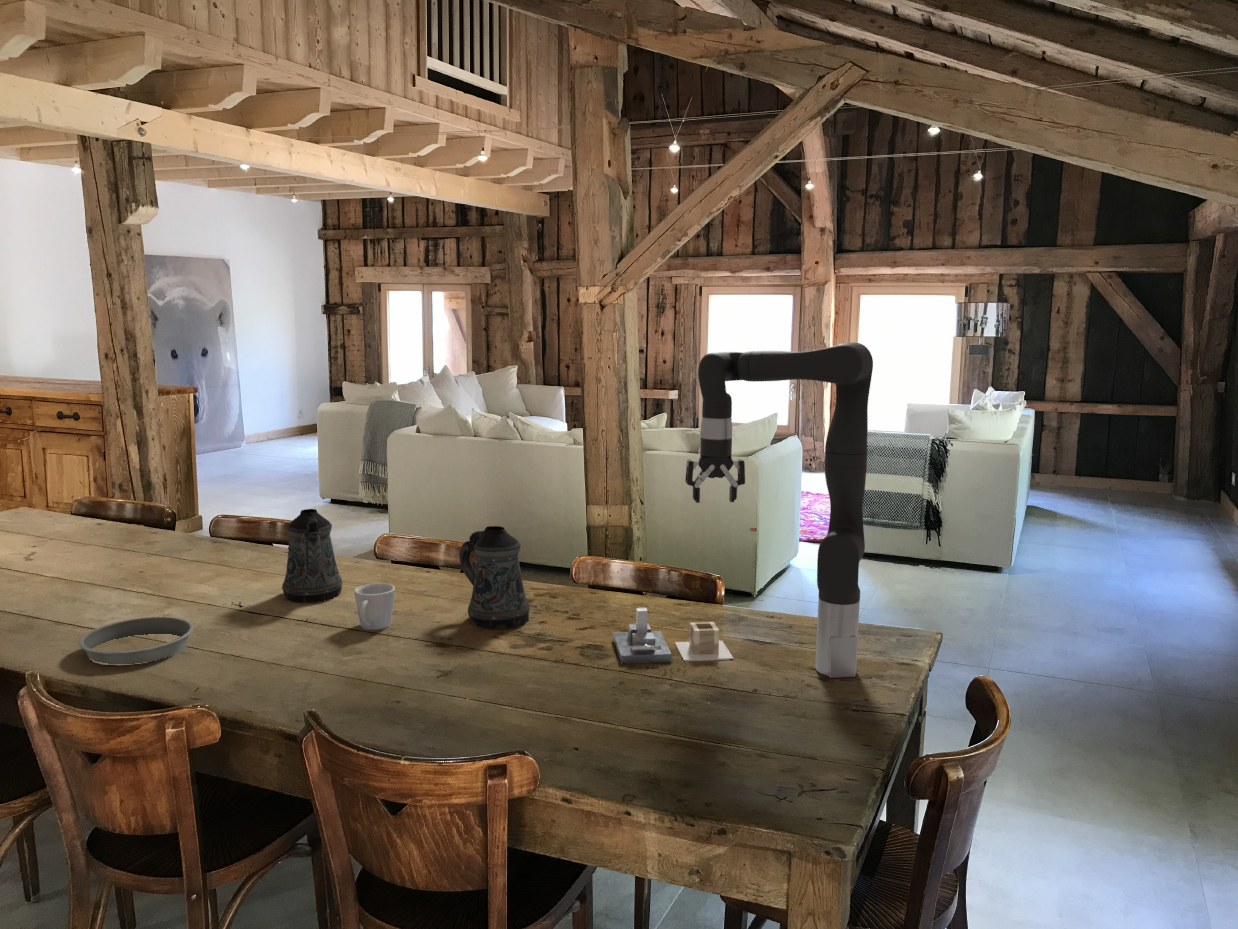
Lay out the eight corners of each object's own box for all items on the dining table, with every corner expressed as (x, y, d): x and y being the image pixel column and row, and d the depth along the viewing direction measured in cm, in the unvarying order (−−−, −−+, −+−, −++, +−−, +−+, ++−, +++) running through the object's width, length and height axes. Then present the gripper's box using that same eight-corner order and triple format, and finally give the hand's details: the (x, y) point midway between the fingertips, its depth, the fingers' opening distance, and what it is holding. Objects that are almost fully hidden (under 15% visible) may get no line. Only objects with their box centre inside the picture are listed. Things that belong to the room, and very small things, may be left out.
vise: (671, 662, 222) (672, 619, 220) (621, 664, 221) (621, 621, 219) (660, 638, 238) (660, 598, 236) (613, 640, 236) (613, 600, 234)
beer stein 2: (526, 630, 243) (525, 536, 239) (451, 629, 243) (449, 535, 239) (533, 610, 259) (532, 521, 255) (463, 609, 260) (461, 520, 255)
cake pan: (57, 658, 222) (55, 640, 221) (150, 627, 244) (149, 610, 243) (125, 677, 211) (123, 658, 210) (216, 643, 232) (215, 626, 232)
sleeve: (718, 653, 226) (719, 630, 225) (694, 654, 226) (694, 630, 225) (713, 645, 232) (713, 621, 231) (689, 645, 232) (689, 622, 231)
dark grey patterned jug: (321, 582, 283) (317, 501, 279) (360, 595, 271) (357, 510, 267) (271, 595, 270) (266, 510, 266) (309, 609, 258) (305, 520, 254)
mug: (401, 619, 250) (400, 583, 249) (382, 639, 236) (381, 600, 234) (363, 618, 251) (362, 582, 250) (342, 637, 237) (340, 599, 235)
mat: (733, 659, 224) (733, 658, 224) (683, 661, 222) (683, 659, 222) (721, 642, 236) (722, 640, 235) (674, 643, 234) (674, 642, 234)
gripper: (690, 438, 221) (688, 505, 224) (749, 437, 223) (747, 504, 225) (684, 434, 228) (682, 499, 231) (741, 433, 230) (739, 498, 233)
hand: (714, 502), depth 228 cm, fingers open, 8 cm apart
